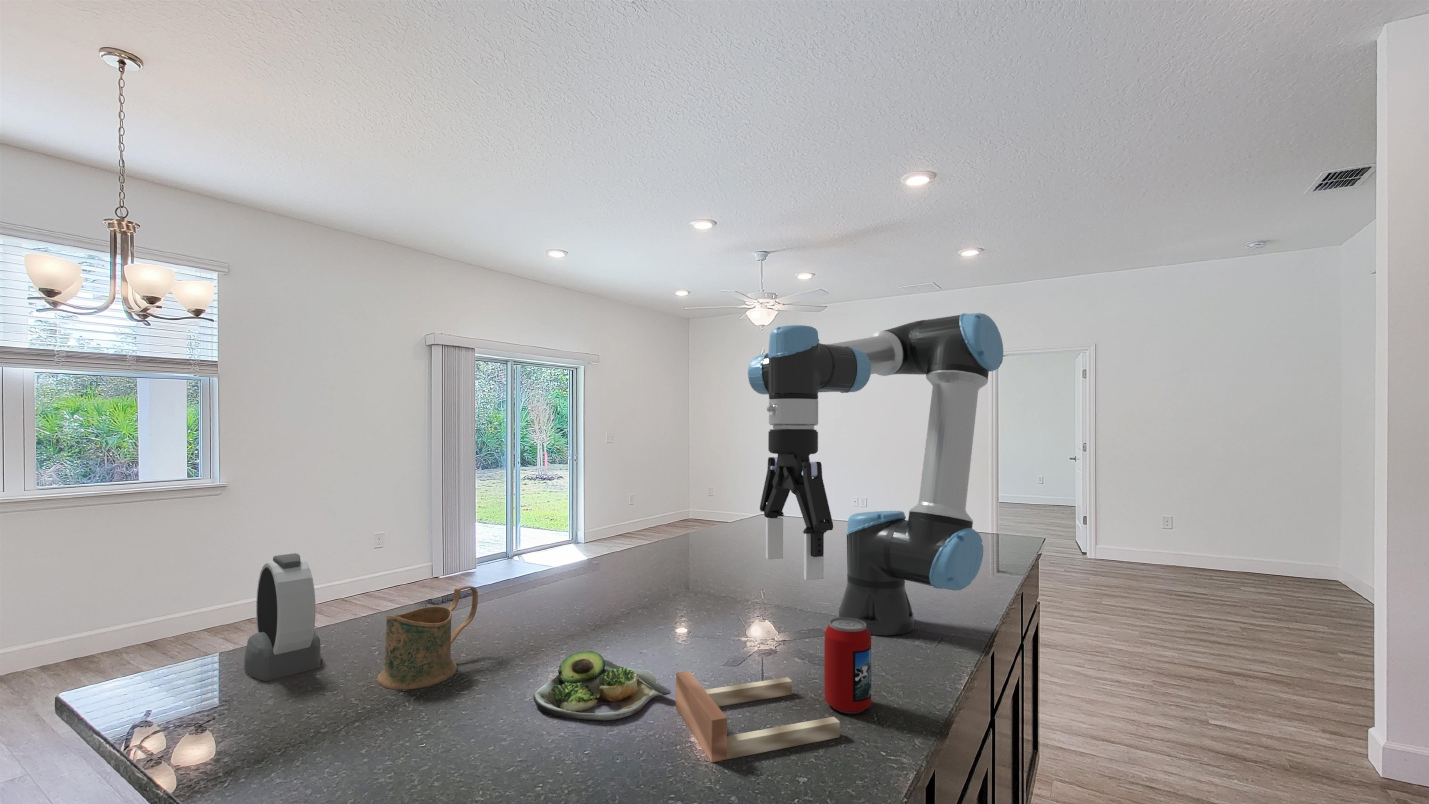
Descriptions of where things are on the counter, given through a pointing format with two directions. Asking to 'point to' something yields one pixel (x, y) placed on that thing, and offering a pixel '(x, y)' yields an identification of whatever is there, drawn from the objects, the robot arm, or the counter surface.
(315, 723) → the counter surface
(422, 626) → the mug
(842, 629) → the beverage can
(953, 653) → the counter surface
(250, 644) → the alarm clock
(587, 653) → the avocado toast plate
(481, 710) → the counter surface
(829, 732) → the guide channel
